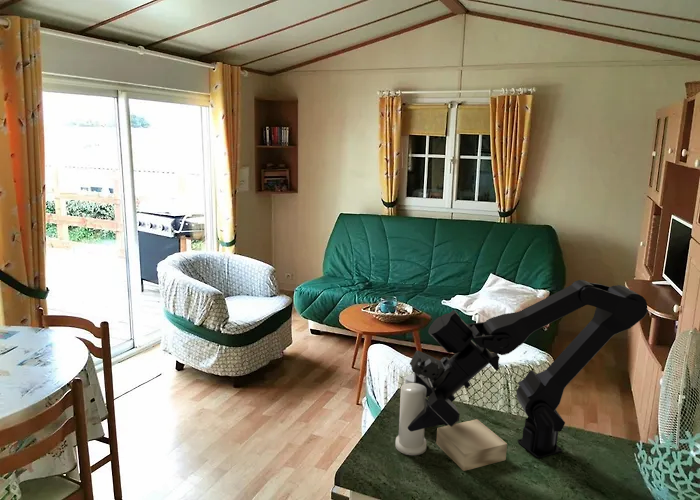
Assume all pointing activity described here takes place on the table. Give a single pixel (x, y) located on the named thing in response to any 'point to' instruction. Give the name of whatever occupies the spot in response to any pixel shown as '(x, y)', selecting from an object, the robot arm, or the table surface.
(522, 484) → the table surface
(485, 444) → the oak box
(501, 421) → the table surface
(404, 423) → the white flanged cylinder
